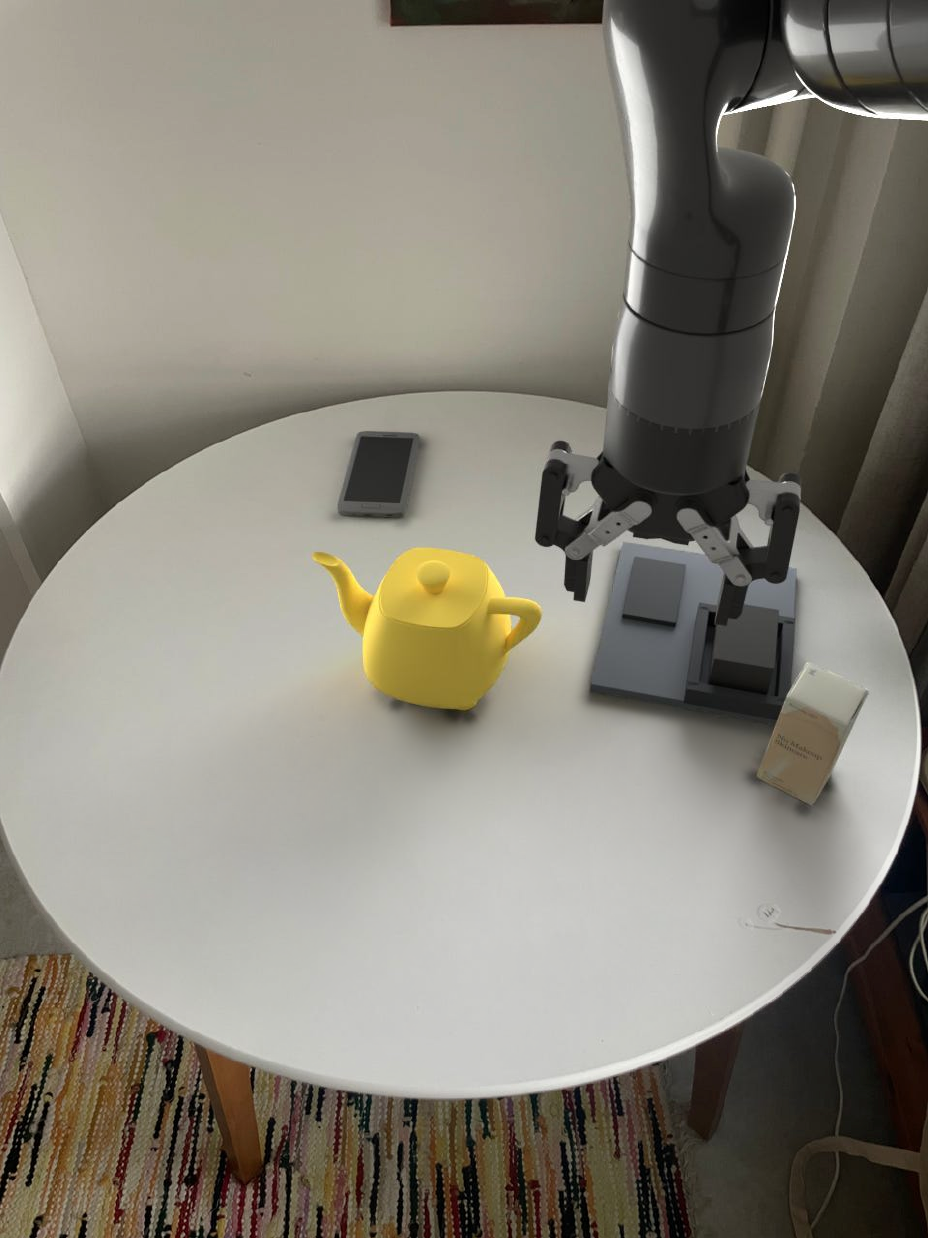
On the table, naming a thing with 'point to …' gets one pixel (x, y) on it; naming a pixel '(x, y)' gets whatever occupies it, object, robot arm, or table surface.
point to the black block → (745, 651)
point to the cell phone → (379, 474)
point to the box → (811, 732)
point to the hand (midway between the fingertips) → (651, 603)
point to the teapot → (433, 626)
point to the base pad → (683, 634)
